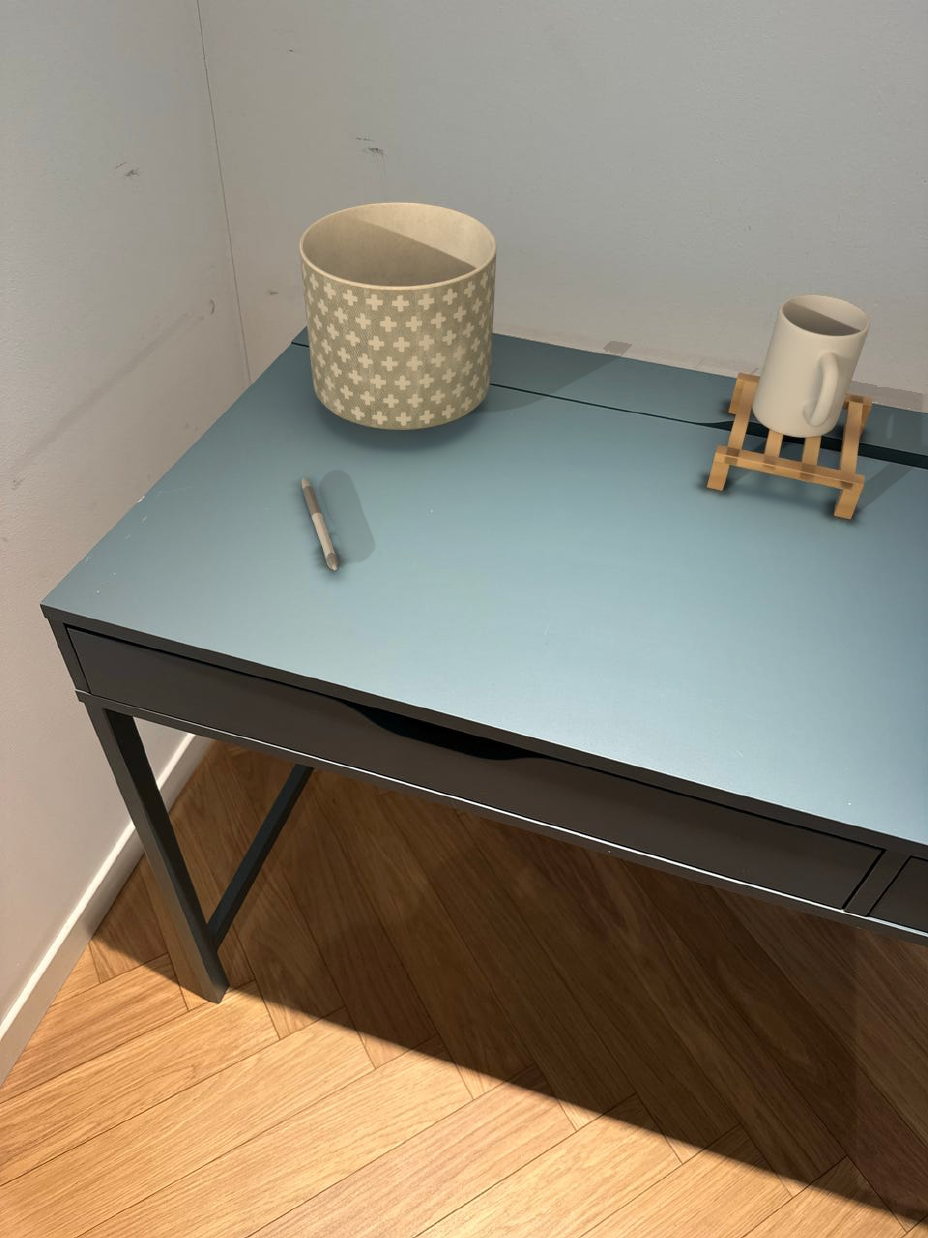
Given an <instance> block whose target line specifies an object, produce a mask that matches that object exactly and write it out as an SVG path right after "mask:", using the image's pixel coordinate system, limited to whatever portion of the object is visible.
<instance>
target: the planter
mask: <svg viewBox="0 0 928 1238" xmlns="http://www.w3.org/2000/svg"><path fill="white" fill-rule="evenodd" d="M497 248H498V247H497V239H496V237H495V236H494V234H493V232H492V231H491V229H489V227H488V226H487V225H485V224H484V223H482V222H481V221H480V220H478V219H476V218H474V217H473V216H471V215H469V214H466V213H464V212H462V211H458V210H456V209H452V208H448V207H444V206H441V205H435V204H429V203H428V204H427V203H421V202H407V201H391V202H390V201H389V202H375V203H368V204H367V203H366V204H360V205H356V206H351V207H346V208H344V209H340V210H337V211H334V212H332V213H329V214H327V215H324V216H322V217H321V218H319V219H317V220H316V221H314V222H313V223H312V224H311V225H309V226H308V227H307V228H306V229H305V231H304V232H303V233H302V235H301V236H300V239H299V247H298V250H299V258H300V259H299V260H300V269H301V280H302V289H303V298H304V307H305V318H306V328H307V337H308V338H307V339H308V348H309V356H310V358H309V359H310V366H311V367H310V368H311V376H312V377H311V379H312V385H313V390H314V393H315V395H316V397H317V398H318V401H320V402H321V404H322V405H323V406H324V407H325V408H326V409H328V411H330V412H331V413H333V414H335V415H336V416H338V417H340V418H342V419H344V420H346V421H349V422H351V423H354V424H358V425H360V426H365V427H369V428H373V429H381V430H391V431H393V430H395V431H406V430H409V431H410V430H420V429H421V430H422V429H428V428H432V427H438V426H442V425H444V424H448V423H451V422H453V421H456V420H459V419H460V418H462V417H465V416H466V415H468V414H469V413H471V412H472V411H474V410H475V409H476V408H477V407H479V405H480V404H482V403H483V401H484V400H485V399H486V397H487V395H488V393H489V389H490V386H491V376H492V375H491V373H492V356H493V355H492V351H493V329H494V313H495V311H494V309H495V291H496V289H495V288H496V287H495V286H496V268H497V266H496V265H497V250H498V249H497Z"/></svg>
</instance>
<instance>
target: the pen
mask: <svg viewBox="0 0 928 1238" xmlns="http://www.w3.org/2000/svg"><path fill="white" fill-rule="evenodd" d="M301 489H302V493H303V496H304V499H305V502H306V505H307V508H308V511H309V513H310V516H311V520H312V521H313V525H314V527H315V530H316V533H317V535H318V539H319V542H320V545H321V548H322V551H323V555H324V559H325V561H326V564H327V567H328V568H329V569H331V570H333V571H337V570H338V567H339V562H338V557H337V554H336V552H335V549H334V546H333V543H332V541H331V538H330V537H331V536H330V535H329V532H328V529H327V526H326V523H325V520H324V516H323V513H322V510H321V508H320V505H319V502H318V498H317V497H316V494H315V491H314V488H313V486H312V484H311V483H310V481H309V479H308V478H307V477H305V476H304V477H302V478H301Z"/></svg>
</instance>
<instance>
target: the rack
mask: <svg viewBox="0 0 928 1238" xmlns="http://www.w3.org/2000/svg"><path fill="white" fill-rule="evenodd" d="M760 376H761V375H760ZM760 376H759V375H755V374H750V373H744V372H738V374H737V376H736V380H735V385H734V388H733V392H732V397H731V399H730V400H731V401H730V405H729V408H728V413H729V414H733V415H734V421H733V423H732V424H733V425H732V427H731V431H730V434H729V437H728V442H727V444H726V445H723V444H717V446H716V450H715V453H714V457H713V461H712V464H711V469H710V473H709V477H708V480H707V484H706V488H708V489H711V490H717V491H721V492H723V491H724V487H725V484H726V480H727V477H728V473H729V469H730V466H734V467H739V468H743V469H746V470H751V471H756V472H761V473H766V474H771V475H775V476H780V477H785V478H788V479H793V480H797V481H802V482H808V483H812V484H817V485H822V486H826V487H831V488H835V489H838V490H839V489H840V492H839V494H838V498H837V500H836V503H835V506H834V512H833V516H834V517H836V518H841V519H847V520H852V517H853V515H854V512H855V511H856V507H857V505H858V502H859V499H860V498H861V494H862V492H863V489H864V487H865V483H866V475H863V474H858V473H857V464H858V456H859V455H858V453H859V447H860V446H859V444H860V439H861V436H862V434H863V431H864V428H865V426H866V424H867V420H868V419H869V415H870V413H871V410H872V407H873V401H874V400H873V399H874V398H872V397H867V396H864V395H857V394H852V393H848V392H847V394H846V397H845V400H844V403H843V406H842V409H841V410H846V411H845V418H844V424H843V425H844V426H843V433H842V442H841V449H840V456H839V463H838V464H839V465H838V469H835V468H830V467H826V466H821V465H818V460H819V454H820V448H821V442H822V441H821V440H822V436H823V435H821V436H817V437H808V438H804V443H803V447H802V453H801V458H800V459H801V460H800V461H797V460H792V459H787V458H783V457H780V453H781V449H782V444H783V439H784V436H785V435H784V434H781V433H778V432H775V431H773V430H771V429H769V428H768V429H769V430H768V433H767V439H766V441H765V447H764V451H763V453H760V452H755V451H750V450H745V449H743V444H744V441H745V437H746V434H747V429H748V426H749V422H750V418H751V413H752V411H753V400H754V396H755V393H756V390H757V387H758V383H759V380H760Z"/></svg>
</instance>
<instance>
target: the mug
mask: <svg viewBox="0 0 928 1238" xmlns="http://www.w3.org/2000/svg"><path fill="white" fill-rule="evenodd" d="M870 327H871V321H870V317H869V316H868V314H867V313H866V312H865V311H864V310H863V309H862V308H860V307H859V306H857V305H855V304H854V303H851V302H850V301H846V300H845V299H842V298H838V297H834V296H830V295H823V294H802V295H797V296H792V297H791V298H788V299H786V300H784V302H782V304H780V306H779V309H778V312H777V314H776V318H775V322H774V326H773V330H772V333H771V337H770V340H769V345H768V347H767V351H766V355H765V359H764V363H763V366H762V370H761V372H760V380H759V383H758V387H757V390H756V393H755V396H754V400H753V407H752V412H753V415H754V417H755V418H756V419H757V421H758V422H759V423H761V425H763V426H764V427H766V428H768V429H771V430H773V431H775V432H778V433H781V434H784V435H783V436H788V437H793V438H804V439H805V438H808V437H817V436H821V435H822V436H823V435H826V434H829V432H831V431H832V430H833V429H834V428H835V427H836V425H837V423H838V421H839V420H840V419H839V418H840V415H841V412H842V410H843V409H842V406H843V403H844V400H845V397H846V394H847V393H848V392H849V388H850V386H851V383H852V379H853V377H854V374H855V371H856V368H857V365H858V362H859V359H860V357H861V354H862V352H863V348H864V346H865V343H866V341H867V337H868V335H869V331H870ZM822 436H821V437H822Z"/></svg>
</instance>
